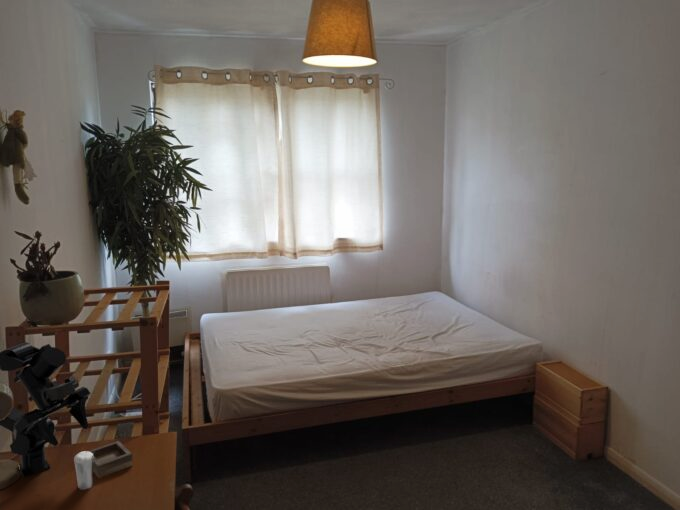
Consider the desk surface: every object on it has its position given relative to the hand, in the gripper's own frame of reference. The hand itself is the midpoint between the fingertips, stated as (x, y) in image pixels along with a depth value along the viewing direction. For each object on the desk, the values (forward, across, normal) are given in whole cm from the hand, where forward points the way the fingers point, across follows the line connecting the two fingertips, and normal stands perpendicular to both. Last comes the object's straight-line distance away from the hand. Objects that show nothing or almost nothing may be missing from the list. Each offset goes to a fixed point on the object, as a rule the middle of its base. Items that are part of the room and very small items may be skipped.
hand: (72, 436), depth 136 cm
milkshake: (+12, 0, +6) cm, 14 cm away
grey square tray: (+11, +10, +7) cm, 16 cm away
